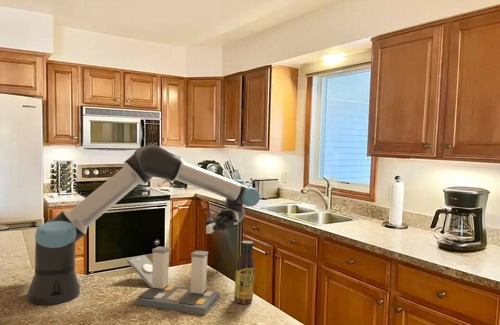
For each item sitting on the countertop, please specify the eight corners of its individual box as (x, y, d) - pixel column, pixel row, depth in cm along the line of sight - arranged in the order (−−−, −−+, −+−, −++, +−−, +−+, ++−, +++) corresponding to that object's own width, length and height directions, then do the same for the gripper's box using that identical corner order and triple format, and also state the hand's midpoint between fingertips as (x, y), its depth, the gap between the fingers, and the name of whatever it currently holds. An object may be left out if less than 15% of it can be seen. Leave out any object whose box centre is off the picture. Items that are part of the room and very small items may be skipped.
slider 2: (189, 292, 122) (191, 253, 122) (194, 288, 127) (196, 250, 126) (202, 294, 121) (203, 255, 121) (206, 289, 126) (208, 251, 125)
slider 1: (150, 287, 126) (152, 249, 125) (157, 283, 130) (158, 246, 130) (162, 289, 125) (164, 250, 124) (168, 284, 129) (170, 247, 129)
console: (136, 304, 117) (136, 297, 117) (157, 289, 131) (157, 282, 131) (205, 314, 112) (205, 306, 112) (219, 297, 126) (219, 290, 126)
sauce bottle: (238, 306, 119) (241, 244, 119) (230, 299, 125) (233, 240, 124) (256, 303, 122) (259, 243, 122) (248, 296, 128) (250, 239, 127)
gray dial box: (152, 283, 132) (128, 257, 138) (146, 296, 134) (122, 269, 140) (169, 277, 139) (145, 252, 146) (163, 289, 141) (140, 264, 147)
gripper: (242, 229, 152) (225, 242, 129) (212, 226, 155) (190, 238, 132) (243, 210, 152) (226, 220, 129) (212, 208, 155) (191, 217, 132)
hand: (208, 229), depth 131 cm, fingers closed
